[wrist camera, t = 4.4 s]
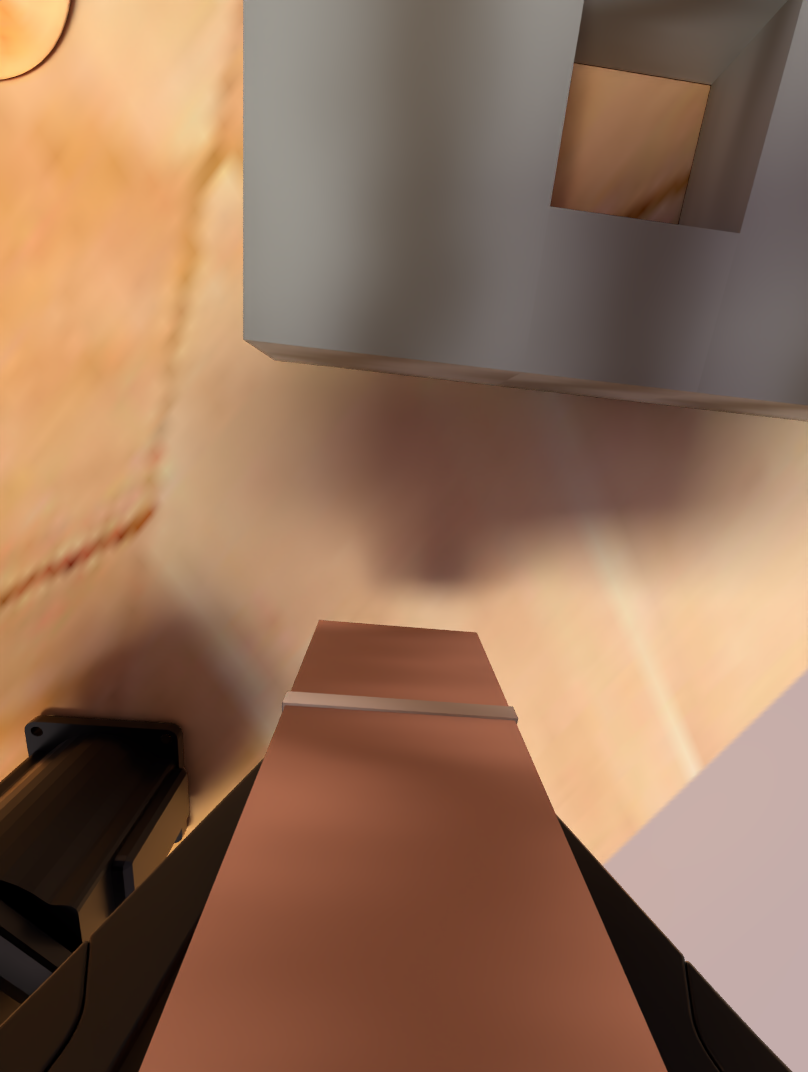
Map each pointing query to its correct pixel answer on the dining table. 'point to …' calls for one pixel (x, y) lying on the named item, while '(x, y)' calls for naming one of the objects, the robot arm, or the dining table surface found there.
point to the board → (524, 199)
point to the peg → (399, 889)
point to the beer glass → (28, 32)
